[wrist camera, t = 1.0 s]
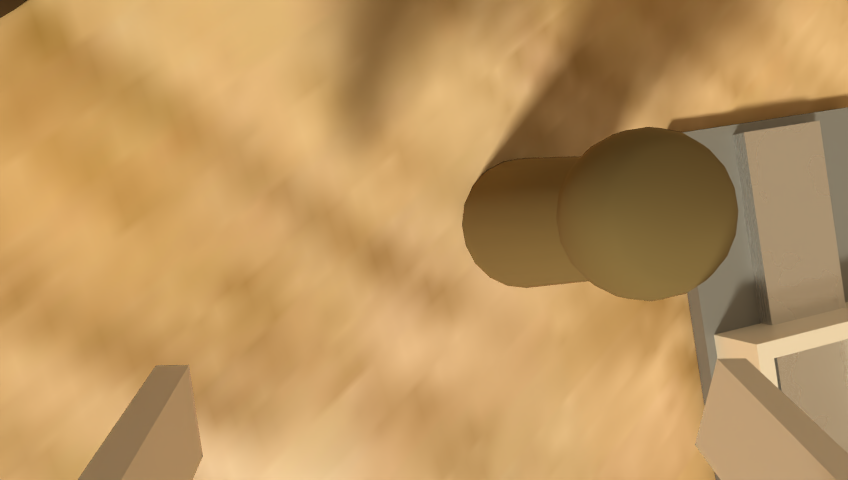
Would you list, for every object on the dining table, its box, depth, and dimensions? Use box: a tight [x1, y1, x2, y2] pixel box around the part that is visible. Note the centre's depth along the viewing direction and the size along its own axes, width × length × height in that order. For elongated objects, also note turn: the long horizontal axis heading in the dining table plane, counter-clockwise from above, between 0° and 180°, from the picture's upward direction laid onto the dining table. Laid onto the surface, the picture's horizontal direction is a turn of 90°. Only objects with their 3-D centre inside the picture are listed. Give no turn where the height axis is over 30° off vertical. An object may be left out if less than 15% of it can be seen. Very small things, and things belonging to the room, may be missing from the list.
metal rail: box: [733, 121, 848, 453], centre depth 28 cm, size 23×4×1 cm, turn 10°
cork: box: [462, 127, 738, 301], centre depth 20 cm, size 6×6×11 cm
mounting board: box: [682, 107, 848, 480], centre depth 29 cm, size 24×11×1 cm, turn 10°
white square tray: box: [714, 302, 848, 388], centre depth 27 cm, size 10×10×3 cm
